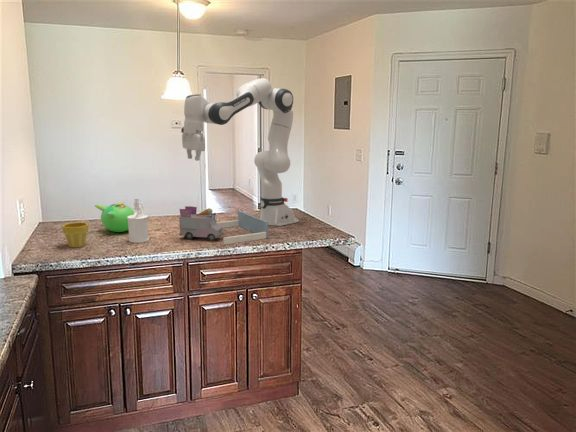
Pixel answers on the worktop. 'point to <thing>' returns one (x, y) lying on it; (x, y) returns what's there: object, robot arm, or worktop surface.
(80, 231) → the plant pot
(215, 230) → the toy vehicle
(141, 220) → the white soap dispenser
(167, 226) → the worktop surface
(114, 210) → the green round vessel
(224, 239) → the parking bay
